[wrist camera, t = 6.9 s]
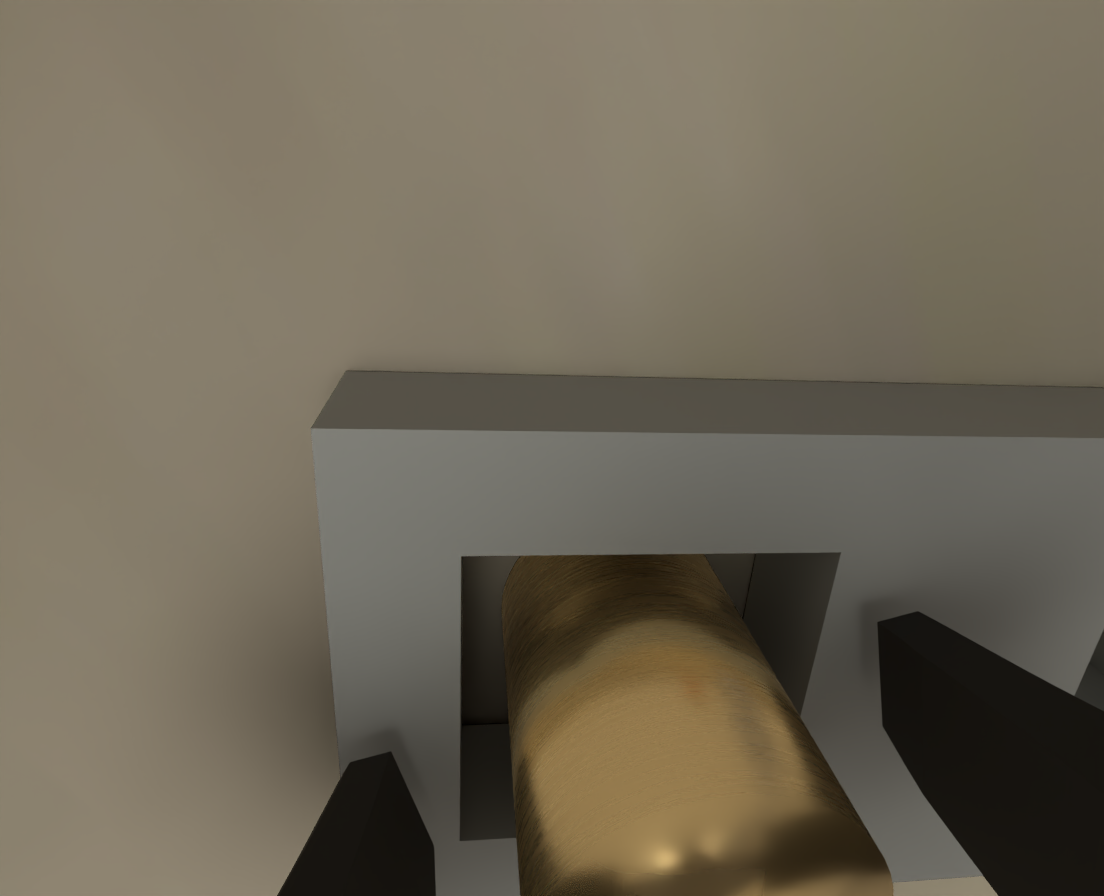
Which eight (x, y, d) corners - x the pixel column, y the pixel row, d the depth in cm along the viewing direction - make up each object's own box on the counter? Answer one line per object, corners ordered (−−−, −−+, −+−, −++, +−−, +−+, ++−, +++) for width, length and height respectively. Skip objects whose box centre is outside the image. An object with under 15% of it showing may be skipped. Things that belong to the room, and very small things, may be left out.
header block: (1339, 393, 13) (1533, 443, 10) (1152, 756, 16) (1266, 855, 14) (345, 370, 10) (311, 428, 8) (372, 796, 14) (353, 922, 12)
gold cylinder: (724, 505, 12) (932, 787, 7) (700, 682, 14) (853, 1030, 8) (500, 512, 12) (525, 818, 6) (502, 694, 13) (523, 1069, 8)
